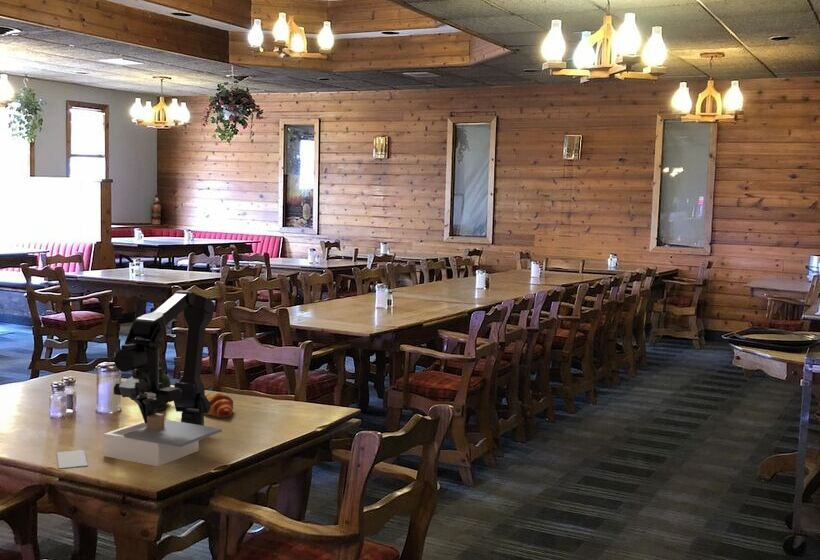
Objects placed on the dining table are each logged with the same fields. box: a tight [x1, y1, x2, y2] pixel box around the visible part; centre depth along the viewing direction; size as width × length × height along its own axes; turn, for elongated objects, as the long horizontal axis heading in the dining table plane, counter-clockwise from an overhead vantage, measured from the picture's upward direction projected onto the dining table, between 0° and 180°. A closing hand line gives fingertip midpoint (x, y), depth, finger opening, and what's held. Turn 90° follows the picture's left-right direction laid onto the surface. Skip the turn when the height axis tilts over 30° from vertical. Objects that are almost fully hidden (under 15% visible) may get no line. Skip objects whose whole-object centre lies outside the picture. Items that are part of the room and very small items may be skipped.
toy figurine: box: [150, 357, 171, 411], centre depth 278 cm, size 9×19×25 cm
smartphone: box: [55, 449, 89, 470], centre depth 222 cm, size 7×1×15 cm
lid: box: [124, 412, 223, 447], centre depth 225 cm, size 17×18×4 cm
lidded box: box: [103, 420, 199, 467], centre depth 229 cm, size 16×18×6 cm
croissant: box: [204, 392, 234, 418], centre depth 274 cm, size 21×10×8 cm, turn 32°
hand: (147, 423), depth 229 cm, fingers closed
